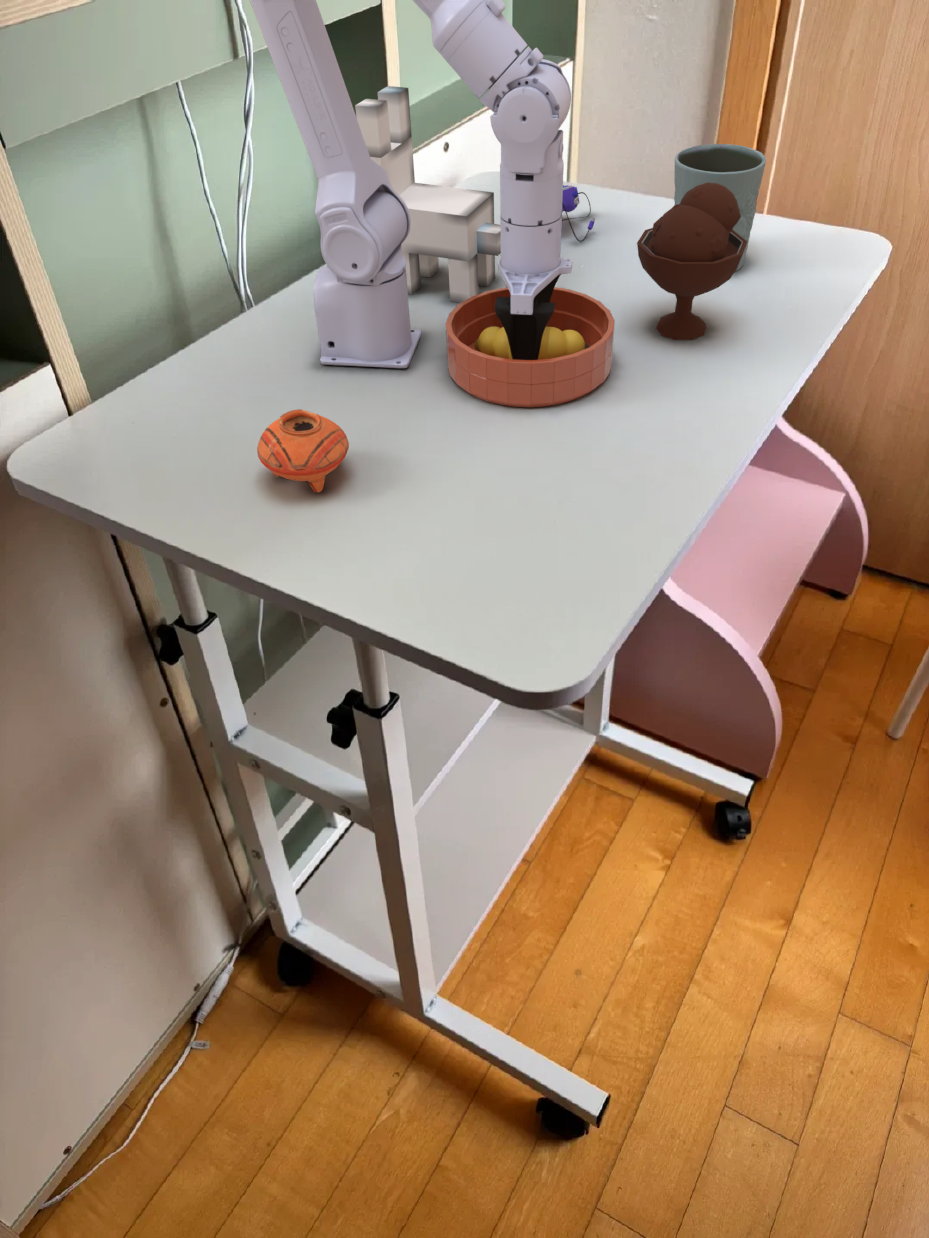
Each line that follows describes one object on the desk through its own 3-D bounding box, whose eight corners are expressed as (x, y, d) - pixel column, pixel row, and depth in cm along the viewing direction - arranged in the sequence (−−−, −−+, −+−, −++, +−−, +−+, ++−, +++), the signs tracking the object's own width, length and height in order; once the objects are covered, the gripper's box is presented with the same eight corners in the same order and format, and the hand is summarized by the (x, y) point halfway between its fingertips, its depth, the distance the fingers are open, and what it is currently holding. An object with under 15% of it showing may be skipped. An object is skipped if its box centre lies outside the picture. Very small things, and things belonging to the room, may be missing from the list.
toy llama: (489, 307, 110) (486, 118, 96) (356, 285, 115) (334, 103, 102) (514, 281, 115) (514, 97, 101) (384, 261, 120) (368, 84, 106)
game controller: (507, 187, 127) (581, 165, 126) (522, 251, 130) (593, 230, 129) (515, 190, 118) (594, 166, 117) (530, 258, 121) (607, 235, 121)
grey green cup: (743, 282, 112) (761, 175, 104) (657, 274, 115) (668, 169, 106) (752, 248, 119) (770, 145, 111) (670, 241, 122) (682, 140, 113)
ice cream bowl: (661, 297, 110) (677, 160, 100) (750, 323, 105) (776, 181, 94) (610, 333, 104) (621, 190, 94) (702, 362, 99) (724, 214, 89)
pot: (297, 439, 90) (301, 380, 85) (361, 480, 88) (369, 422, 83) (237, 478, 85) (237, 418, 80) (303, 523, 83) (308, 464, 78)
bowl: (434, 404, 95) (432, 358, 91) (462, 326, 107) (460, 282, 103) (606, 414, 92) (609, 367, 89) (614, 332, 104) (618, 288, 101)
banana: (469, 368, 99) (468, 334, 96) (476, 347, 102) (475, 314, 99) (587, 374, 97) (589, 339, 94) (590, 353, 100) (592, 319, 97)
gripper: (567, 248, 83) (562, 387, 92) (580, 188, 93) (573, 319, 103) (487, 245, 84) (489, 384, 93) (508, 186, 94) (508, 316, 104)
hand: (529, 349), depth 98 cm, fingers open, 6 cm apart
